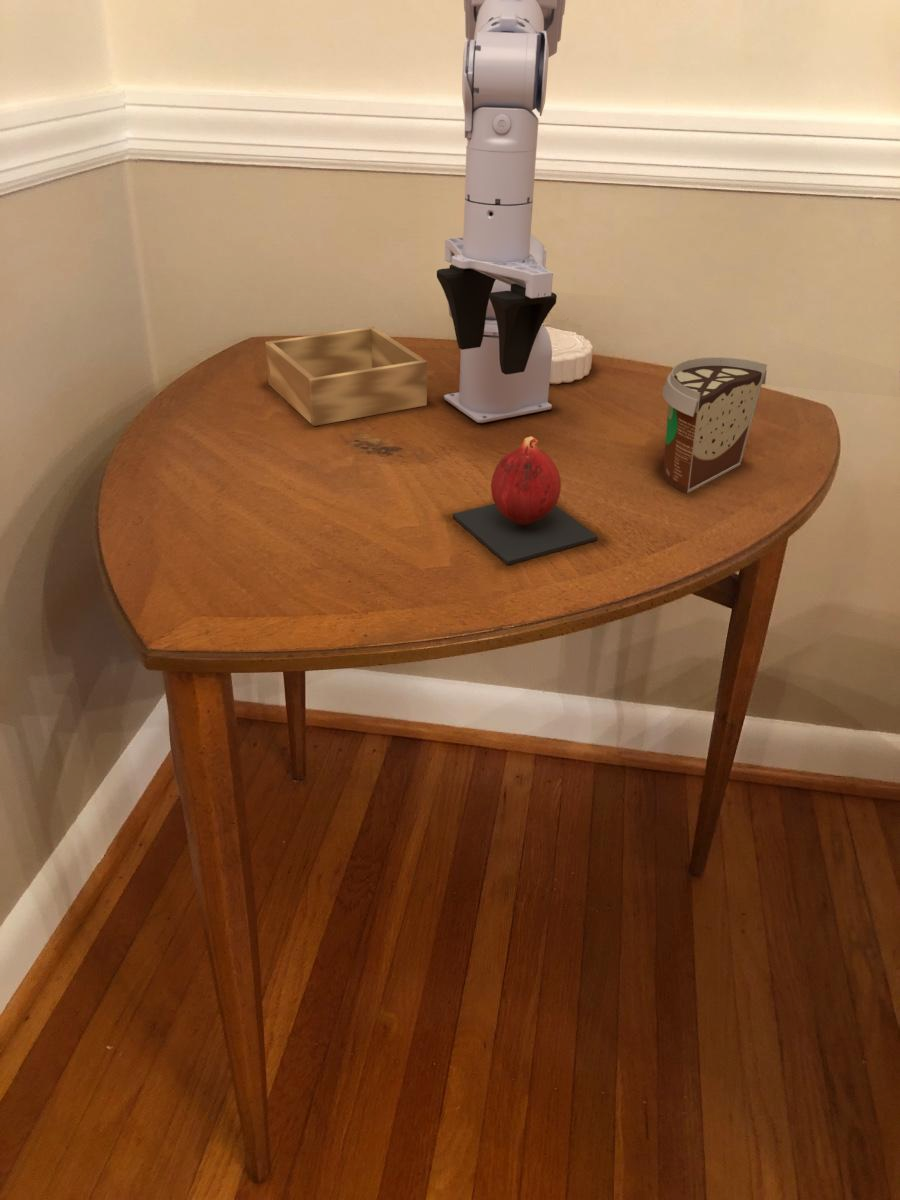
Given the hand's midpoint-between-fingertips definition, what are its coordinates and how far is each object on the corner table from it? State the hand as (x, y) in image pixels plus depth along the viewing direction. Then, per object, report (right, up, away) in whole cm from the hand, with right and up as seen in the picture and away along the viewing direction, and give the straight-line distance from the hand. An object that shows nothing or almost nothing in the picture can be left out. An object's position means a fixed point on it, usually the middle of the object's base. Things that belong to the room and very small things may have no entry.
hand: (490, 359), depth 86 cm
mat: (+3, -16, -5) cm, 17 cm away
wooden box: (-15, +1, +20) cm, 25 cm away
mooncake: (+7, +6, +29) cm, 31 cm away
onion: (+3, -16, -5) cm, 17 cm away
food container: (+19, -9, +6) cm, 22 cm away
